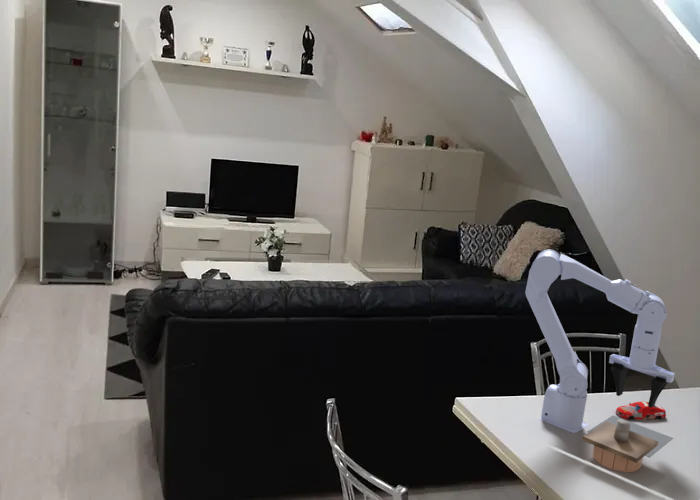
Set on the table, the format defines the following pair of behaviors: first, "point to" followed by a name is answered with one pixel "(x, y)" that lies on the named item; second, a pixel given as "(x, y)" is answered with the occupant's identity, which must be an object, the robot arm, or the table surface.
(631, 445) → the cover board
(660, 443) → the mat
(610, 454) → the bowl
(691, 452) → the table surface
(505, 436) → the table surface
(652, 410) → the race car
